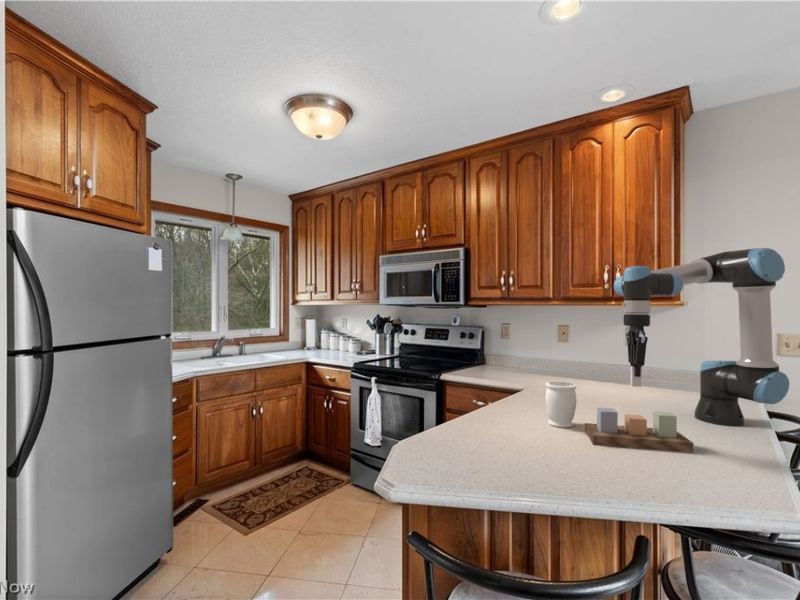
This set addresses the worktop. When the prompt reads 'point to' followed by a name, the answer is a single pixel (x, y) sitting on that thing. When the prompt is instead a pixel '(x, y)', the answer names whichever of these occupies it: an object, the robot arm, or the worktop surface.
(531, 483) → the worktop surface
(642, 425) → the terracotta toy cube
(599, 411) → the blue-gray block
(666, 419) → the sage green block
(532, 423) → the worktop surface
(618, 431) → the brown board
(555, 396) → the jar
